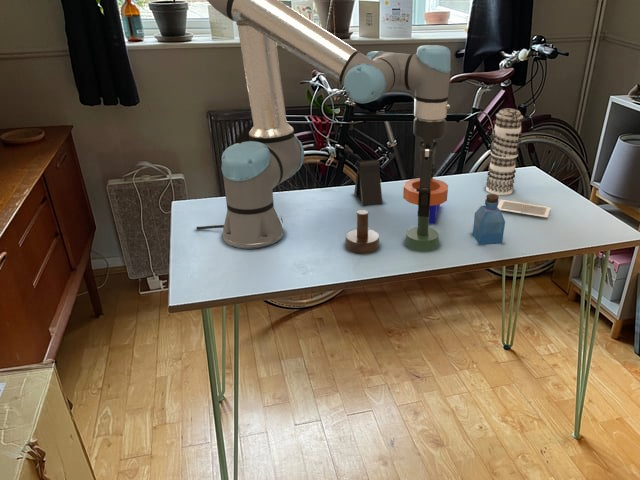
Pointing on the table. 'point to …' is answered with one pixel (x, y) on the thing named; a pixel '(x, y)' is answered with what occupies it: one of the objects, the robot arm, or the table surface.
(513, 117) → the decorative candle
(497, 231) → the perfume bottle
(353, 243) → the walnut peg
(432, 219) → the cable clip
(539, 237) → the table surface
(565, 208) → the table surface
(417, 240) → the sage peg
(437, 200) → the ring
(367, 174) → the phone stand
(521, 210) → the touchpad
